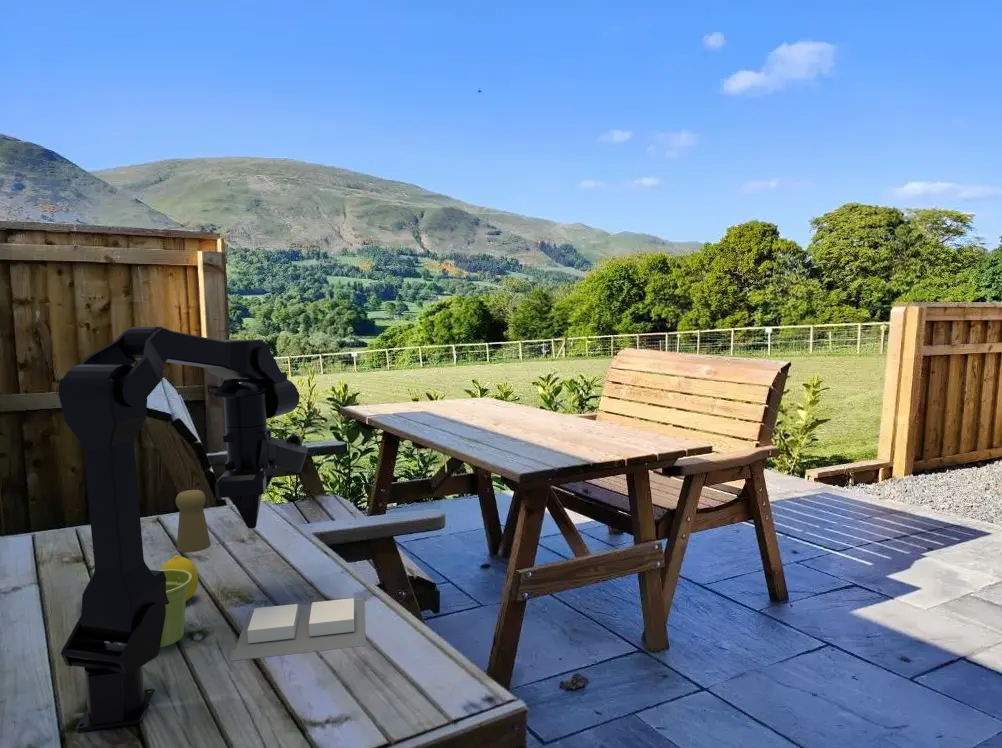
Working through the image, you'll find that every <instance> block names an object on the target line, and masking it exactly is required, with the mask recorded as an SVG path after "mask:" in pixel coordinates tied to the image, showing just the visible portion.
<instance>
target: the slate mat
mask: <svg viewBox="0 0 1002 748" xmlns="http://www.w3.org/2000/svg"><path fill="white" fill-rule="evenodd" d="M365 605H366V602H365V598H362V599H354V632H348V633H339V634H330V635H321V636H310V635H309V620H310V613H311V607H312V603H311V604H303V605H298V615H299V616H298V621H297V627H296V632H295V638H292V639H286V640H277V641H268V642H259V643H248V633H247V630H248V627H249V624H250V621H251V618H252V615H253V612H254V609H253V610H248V612H247V614H246V618H245V621H244V623H243V626H242V630H241V632H240V635H239V637H238V640H237V643H236V646H235V649H234V652H233V654H232V658H231V661H230V662H237V661H244V660H254V659H262V658H271V657H278V656H279V657H280V656H286V655H287V656H288V655H296V654H306V653H314V652H321V651H322V652H323V651H329V650H330V651H331V650H340V649H349V648H355V647H356V648H357V647H365V646H367V644H366V641H367V640H366V608H365Z"/></svg>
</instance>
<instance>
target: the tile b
mask: <svg viewBox="0 0 1002 748" xmlns="http://www.w3.org/2000/svg"><path fill="white" fill-rule="evenodd" d="M354 600H355V598H353V597H352V598H342V599H333V600H324V601H313V602H311V604H312V607H311V613H310V620H309V635H310V636H321V635H330V634H339V633H348V632H354Z"/></svg>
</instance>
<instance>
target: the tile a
mask: <svg viewBox="0 0 1002 748" xmlns="http://www.w3.org/2000/svg"><path fill="white" fill-rule="evenodd" d="M298 606H299V604H298V603H294V604H285V605H284V604H283V605H274V606H263V607H256V608H255V607H254V609H253V610H254V612H253V615H252V618H251V621H250V624H249V627H248V630H247V633H248V643H259V642H268V641H277V640H286V639H292V638H295V632H296V627H297V621H298V616H299V615H298Z"/></svg>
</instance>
